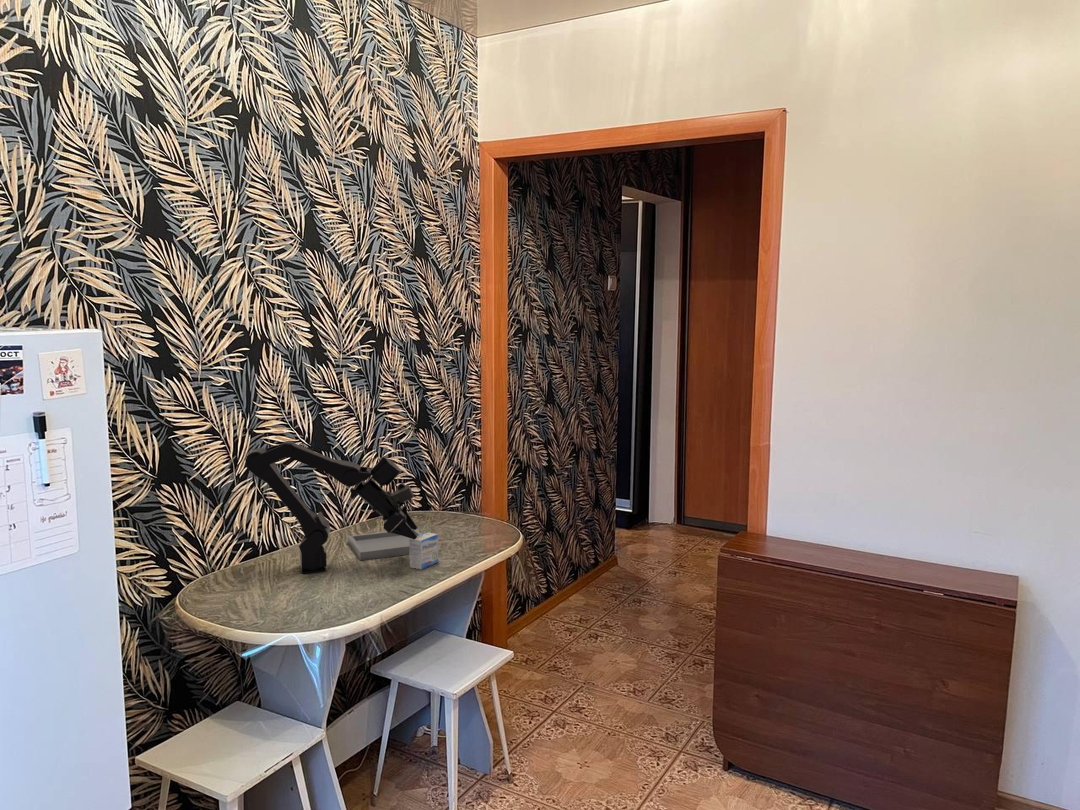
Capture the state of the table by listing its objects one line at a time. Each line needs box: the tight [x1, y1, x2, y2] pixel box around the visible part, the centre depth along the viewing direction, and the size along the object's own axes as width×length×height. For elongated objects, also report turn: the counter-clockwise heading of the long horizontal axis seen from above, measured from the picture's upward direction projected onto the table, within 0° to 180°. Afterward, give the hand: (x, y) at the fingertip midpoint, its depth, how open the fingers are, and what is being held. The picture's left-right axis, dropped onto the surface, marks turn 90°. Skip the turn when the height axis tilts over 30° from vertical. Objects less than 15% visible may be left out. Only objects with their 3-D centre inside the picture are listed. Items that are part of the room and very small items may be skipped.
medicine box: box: [409, 532, 439, 571], centre depth 218 cm, size 8×4×9 cm, turn 149°
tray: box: [347, 528, 423, 561], centre depth 234 cm, size 22×18×2 cm
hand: (416, 533), depth 217 cm, fingers open, 9 cm apart
